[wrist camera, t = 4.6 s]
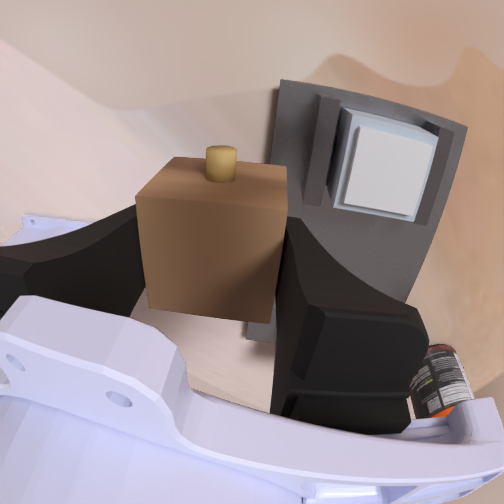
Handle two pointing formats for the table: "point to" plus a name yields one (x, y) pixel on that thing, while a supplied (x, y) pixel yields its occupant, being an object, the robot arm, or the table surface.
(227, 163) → the block
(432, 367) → the supplement bottle
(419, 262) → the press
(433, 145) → the ram
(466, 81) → the table surface
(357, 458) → the robot arm
